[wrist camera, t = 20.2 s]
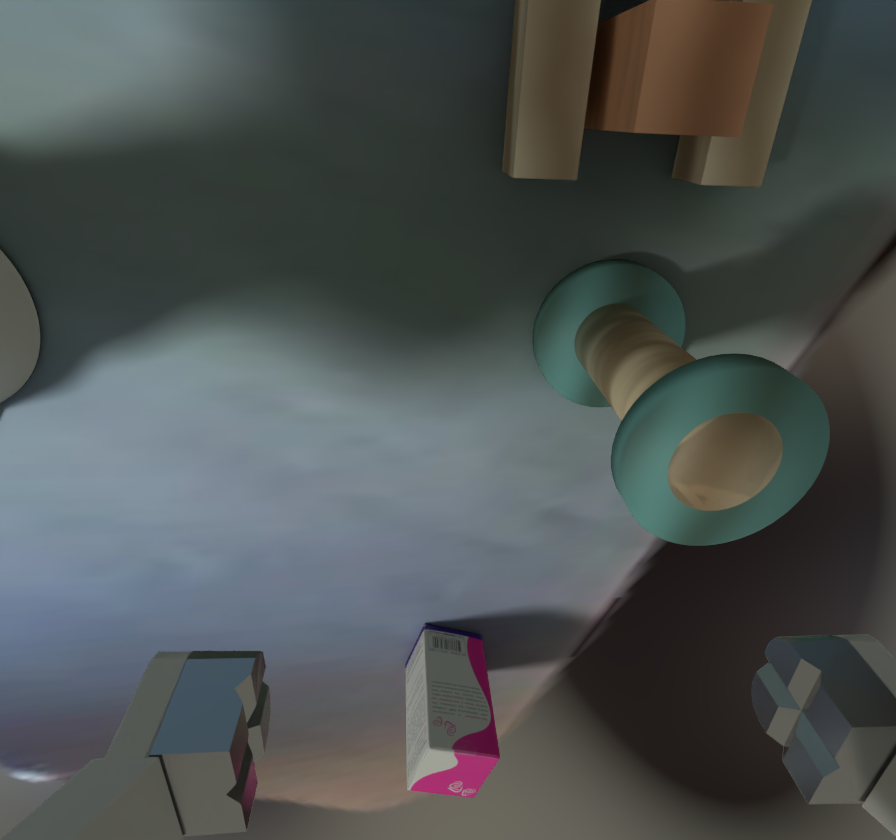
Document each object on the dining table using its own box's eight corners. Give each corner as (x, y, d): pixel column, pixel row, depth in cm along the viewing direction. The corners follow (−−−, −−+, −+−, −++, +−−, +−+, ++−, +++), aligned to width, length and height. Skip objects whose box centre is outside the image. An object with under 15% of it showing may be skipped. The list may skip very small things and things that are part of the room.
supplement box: (403, 666, 54) (403, 792, 44) (424, 621, 52) (429, 745, 42) (461, 676, 56) (474, 802, 45) (484, 634, 53) (503, 756, 43)
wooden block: (579, 128, 34) (633, 132, 26) (593, 25, 32) (657, -4, 24) (662, 132, 34) (740, 137, 26) (681, 31, 32) (773, 4, 24)
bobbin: (525, 397, 42) (593, 555, 27) (541, 257, 37) (634, 353, 22) (659, 398, 43) (797, 552, 28) (691, 261, 38) (878, 357, 23)
